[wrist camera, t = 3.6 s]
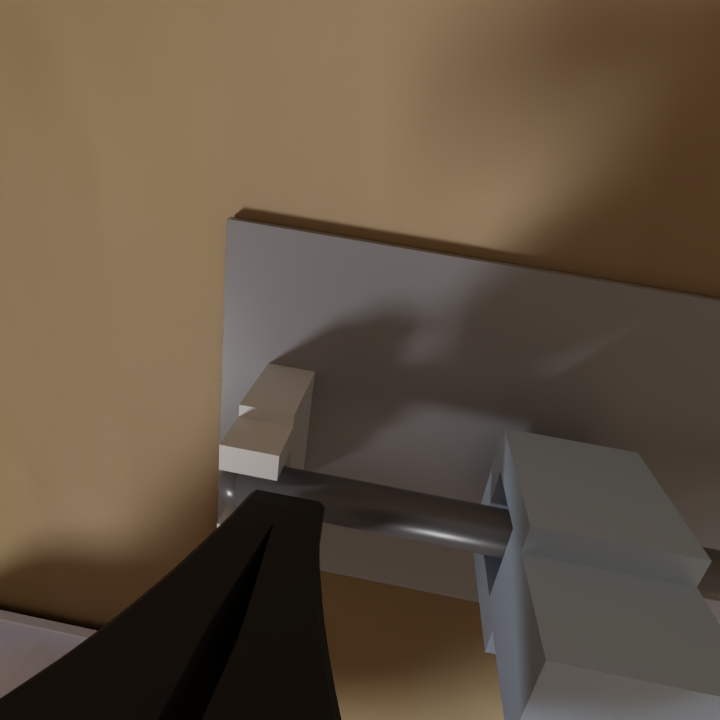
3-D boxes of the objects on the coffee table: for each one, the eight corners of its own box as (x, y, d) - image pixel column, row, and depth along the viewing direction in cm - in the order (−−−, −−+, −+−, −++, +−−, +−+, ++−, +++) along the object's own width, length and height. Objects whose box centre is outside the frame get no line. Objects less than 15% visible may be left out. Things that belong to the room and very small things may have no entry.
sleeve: (471, 534, 13) (498, 768, 8) (503, 427, 11) (560, 630, 7) (590, 558, 13) (690, 810, 8) (637, 452, 11) (792, 678, 7)
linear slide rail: (219, 542, 16) (153, 670, 12) (231, 217, 12) (137, 253, 8) (918, 683, 15) (1093, 875, 11) (1200, 379, 11) (1641, 513, 7)
